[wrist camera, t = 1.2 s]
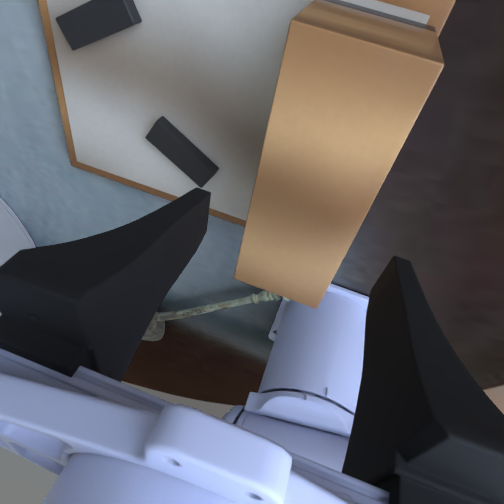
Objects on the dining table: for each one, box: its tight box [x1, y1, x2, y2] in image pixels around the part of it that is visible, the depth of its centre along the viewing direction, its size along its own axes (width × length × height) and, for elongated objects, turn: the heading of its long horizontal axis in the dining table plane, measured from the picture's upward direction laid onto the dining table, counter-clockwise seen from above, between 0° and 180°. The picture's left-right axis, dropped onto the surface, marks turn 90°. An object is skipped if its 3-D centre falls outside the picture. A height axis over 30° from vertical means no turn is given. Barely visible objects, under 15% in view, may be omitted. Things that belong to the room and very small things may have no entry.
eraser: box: [234, 0, 444, 309], centre depth 18 cm, size 13×5×6 cm, turn 169°
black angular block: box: [145, 116, 219, 188], centre depth 22 cm, size 4×2×1 cm, turn 49°
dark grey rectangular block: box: [56, 0, 142, 51], centre depth 19 cm, size 4×2×1 cm, turn 109°
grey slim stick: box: [142, 290, 290, 341], centre depth 34 cm, size 22×3×7 cm
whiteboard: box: [38, 0, 455, 227], centre depth 21 cm, size 15×20×1 cm
